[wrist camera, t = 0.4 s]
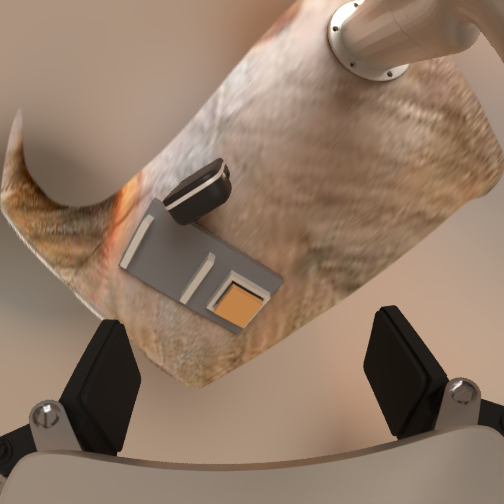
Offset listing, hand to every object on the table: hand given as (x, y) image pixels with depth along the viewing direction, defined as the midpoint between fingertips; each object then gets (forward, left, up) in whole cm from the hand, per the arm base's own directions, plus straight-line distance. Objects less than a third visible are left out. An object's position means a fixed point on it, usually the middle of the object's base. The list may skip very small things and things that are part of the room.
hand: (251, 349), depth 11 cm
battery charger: (+3, -4, -32) cm, 33 cm away
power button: (+15, +9, -29) cm, 34 cm away
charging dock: (+15, +2, -32) cm, 36 cm away
